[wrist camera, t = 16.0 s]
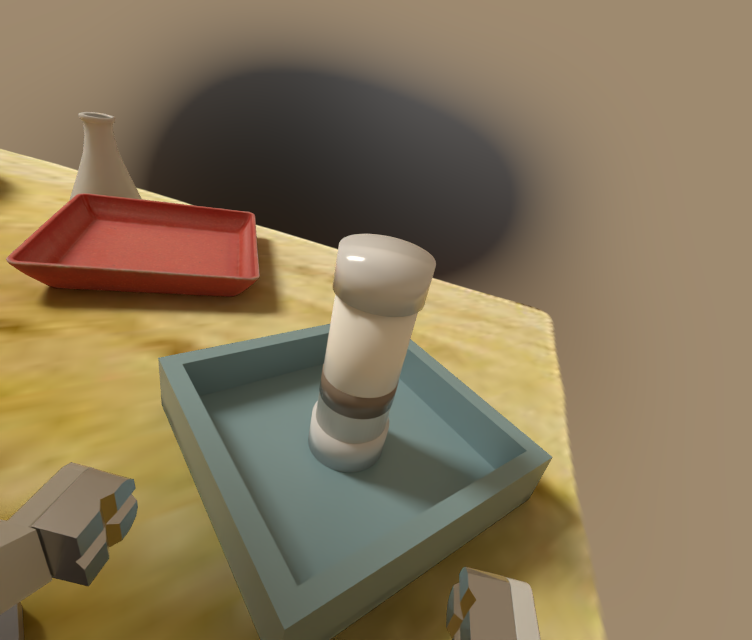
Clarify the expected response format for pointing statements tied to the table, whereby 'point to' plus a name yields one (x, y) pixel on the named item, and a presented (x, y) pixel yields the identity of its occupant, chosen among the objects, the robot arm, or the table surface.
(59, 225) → the plant saucer
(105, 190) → the flask
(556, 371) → the table surface
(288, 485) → the tray
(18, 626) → the board
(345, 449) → the cylinder
